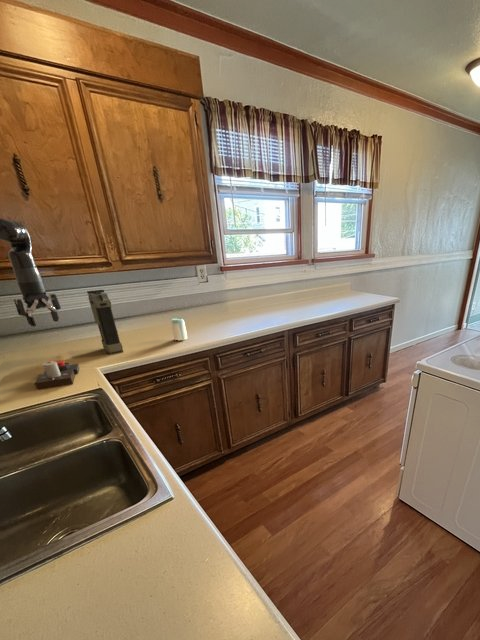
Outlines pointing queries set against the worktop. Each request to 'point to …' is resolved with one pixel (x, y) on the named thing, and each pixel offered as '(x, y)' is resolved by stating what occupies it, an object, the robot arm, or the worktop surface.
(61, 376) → the panel
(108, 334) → the device
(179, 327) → the can
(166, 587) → the worktop surface
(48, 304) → the robot arm
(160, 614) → the worktop surface
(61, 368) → the switch block
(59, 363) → the power button
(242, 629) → the worktop surface
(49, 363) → the white cup
